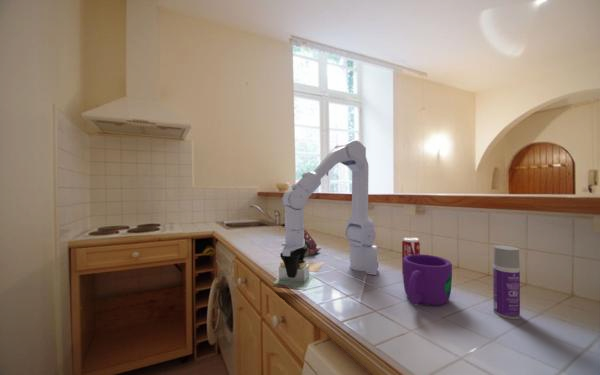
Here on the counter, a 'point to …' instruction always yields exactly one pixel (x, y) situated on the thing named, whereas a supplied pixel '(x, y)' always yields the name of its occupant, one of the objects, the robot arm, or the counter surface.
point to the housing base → (299, 277)
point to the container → (506, 282)
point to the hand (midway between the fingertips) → (294, 273)
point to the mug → (427, 279)
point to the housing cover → (299, 264)
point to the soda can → (410, 247)
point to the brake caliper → (310, 244)
